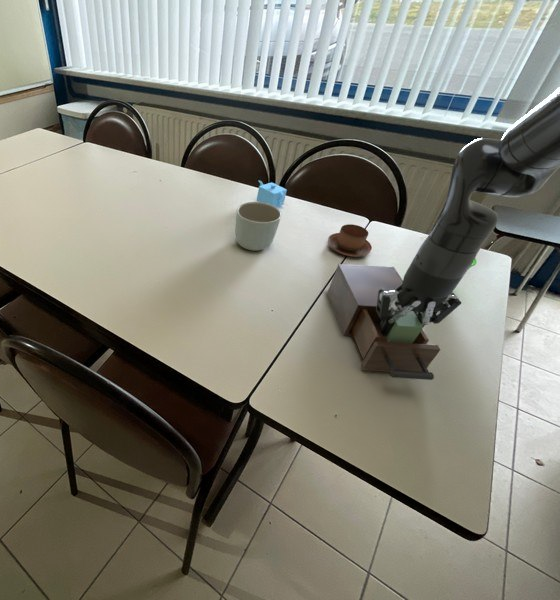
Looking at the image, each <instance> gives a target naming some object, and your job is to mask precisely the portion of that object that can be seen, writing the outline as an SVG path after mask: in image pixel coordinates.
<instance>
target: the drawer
mask: <svg viewBox="0 0 560 600" xmlns="http://www.w3.org/2000/svg"><path fill="white" fill-rule="evenodd" d="M381 321H382V320H381V319H380V318H379V316H378V314H377V312H376V309H361V310H360V312H359V314H358V316H357V318H356V320H355V322H354V324H353V326H352V328H351V331H352V334H353V336H352V337H353V338H354V340H355V343H356V346H357V347H358V350H359V352H360V355H361V357H362V359H363V361H362V363H361V364H360V367H361V369H362V370H363V371H373V372H387V373H389V374H390V377H391V378H397V379H410V380H411V379H412V380H426V381H432V380H434V378H435V375H434V373H433V372H431V371H429V370H428V367H429V365H430V364H431V363H432V362H433V361H434V359H435V358H436V356H437V355H438V354H439V353H440V351H441V348H440V346H439V345H438V344H428V343H429V341H430V339H429V337H428V336H427V334H426V333H425V331H424V330H423V329H422V330H421V332H420V333H419V335H418V336H417V337H416V339H415V340H414V342H413V343H396V342H388V341H387V339H386V337H385V336H383V335H382V333H381V332H380V330H379V328H378V326H379V324H380V323H381Z"/></svg>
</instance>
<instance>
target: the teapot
mask: <svg viewBox="0 0 560 600" xmlns="http://www.w3.org/2000/svg"><path fill="white" fill-rule="evenodd" d="M258 183H259V186H258V189H257V195H256V201H255V202H262V203H267V204H270V205H272V206H274V207H276V208H279V207H281V206H283V205H284V203H285V200H286V197H287V191H288V190H287V189H286V188H284V187H283V186H280V185H278V184H276V183H274V182H272V181H271V182H268V183H266V184H265V183H263V181H262V180H258Z"/></svg>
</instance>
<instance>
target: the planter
mask: <svg viewBox="0 0 560 600" xmlns="http://www.w3.org/2000/svg"><path fill="white" fill-rule="evenodd" d="M281 218H282V213H281V210H280V209H279V208H278V207H274V206H272V205H270V204H267V203H262V202H257V201H248V202H244V203H241V204H240V205H238V206H237V208H236V213H235V222H234V237H235V241H236V242H237V244H238V245H239V246H240V247H241V248H243V249H245V250H248V251H253V252H257V251H262V250H265V249H267V248H268V247H269V246H271V245H272V243H273V241H274V239H275V237H276V234H277V231H278V228H279V225H280V222H281Z"/></svg>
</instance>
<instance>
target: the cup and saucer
mask: <svg viewBox="0 0 560 600" xmlns="http://www.w3.org/2000/svg"><path fill="white" fill-rule="evenodd" d="M368 236H369V231H368V230H367V229H366V228H365V227H363V226H361V225H357V224H353V223H352V224H349V223H348V224H344V225H342V226H341V227H340V230H339V232H335V233H332V234H331V235H329V236H328V237H327V243H328V245H329V247H330V248H331V250H333V251H335V252H337V253H338V254H341V255H343V256H347V257H356V258H357V257H358V258H359V257H363V256H366V255H368V254H370V252H371V251H372V248H373V247H372V244H371V242H370V241H368V240H367V238H368Z"/></svg>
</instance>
